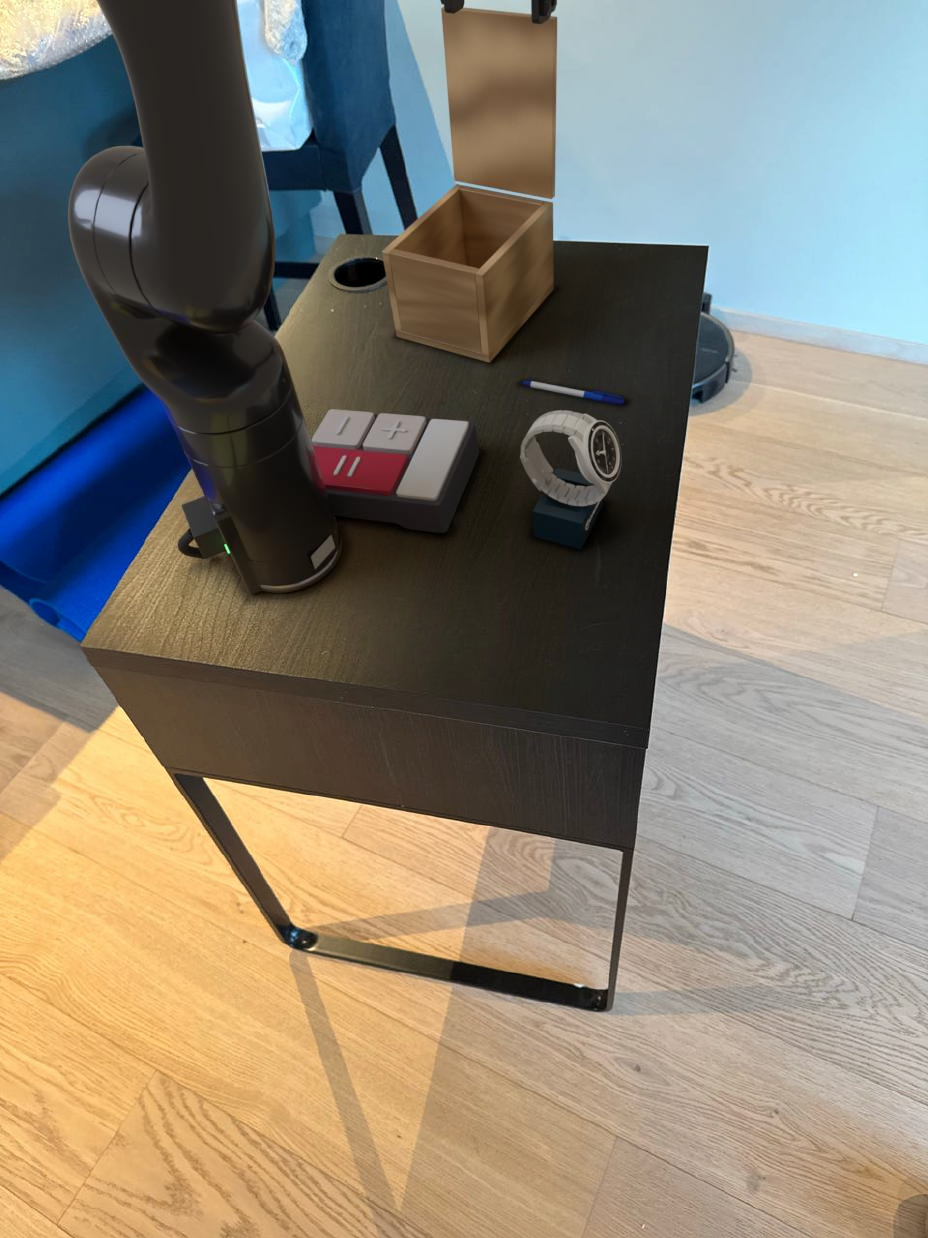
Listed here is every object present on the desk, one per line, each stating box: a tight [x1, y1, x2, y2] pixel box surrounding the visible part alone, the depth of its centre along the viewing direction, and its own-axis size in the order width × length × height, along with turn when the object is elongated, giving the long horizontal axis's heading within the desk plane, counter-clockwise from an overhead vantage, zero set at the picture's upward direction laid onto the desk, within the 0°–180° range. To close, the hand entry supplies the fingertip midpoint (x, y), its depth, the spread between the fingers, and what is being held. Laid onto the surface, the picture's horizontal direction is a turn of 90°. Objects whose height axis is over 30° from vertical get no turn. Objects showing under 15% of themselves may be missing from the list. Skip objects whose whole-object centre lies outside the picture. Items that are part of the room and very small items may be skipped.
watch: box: [519, 409, 622, 550], centre depth 69 cm, size 6×8×11 cm
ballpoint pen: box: [522, 380, 626, 406], centre depth 83 cm, size 10×1×1 cm, turn 68°
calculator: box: [310, 408, 480, 534], centre depth 77 cm, size 11×4×15 cm
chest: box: [381, 183, 555, 364], centre depth 90 cm, size 15×12×10 cm
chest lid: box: [440, 6, 558, 200], centre depth 84 cm, size 16×12×5 cm
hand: (497, 15), depth 71 cm, fingers open, 8 cm apart
